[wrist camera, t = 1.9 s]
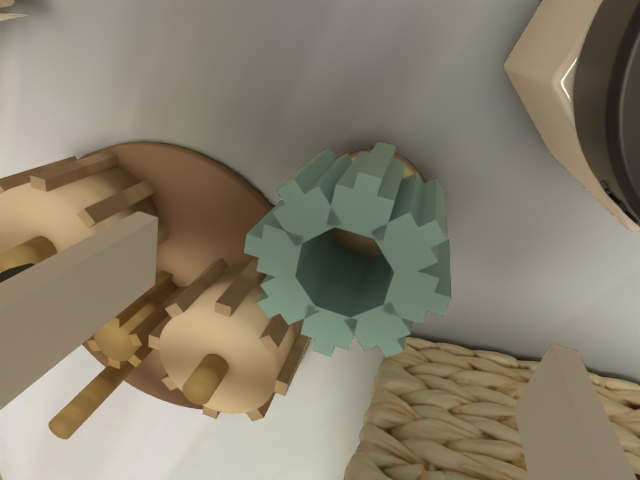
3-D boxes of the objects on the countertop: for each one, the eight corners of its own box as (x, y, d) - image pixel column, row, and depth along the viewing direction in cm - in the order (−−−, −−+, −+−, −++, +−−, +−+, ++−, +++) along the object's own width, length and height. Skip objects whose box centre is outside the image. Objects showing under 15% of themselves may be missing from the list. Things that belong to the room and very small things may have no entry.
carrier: (36, 105, 25) (-120, 128, 18) (349, 195, 23) (307, 263, 16) (59, 349, 34) (-41, 429, 27) (288, 434, 31) (244, 548, 24)
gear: (302, 120, 19) (259, 144, 14) (476, 167, 18) (488, 208, 13) (274, 267, 22) (233, 323, 18) (420, 314, 21) (414, 385, 17)
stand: (334, 136, 22) (319, 148, 19) (444, 165, 21) (444, 183, 18) (312, 233, 24) (296, 257, 22) (409, 263, 23) (406, 291, 21)
